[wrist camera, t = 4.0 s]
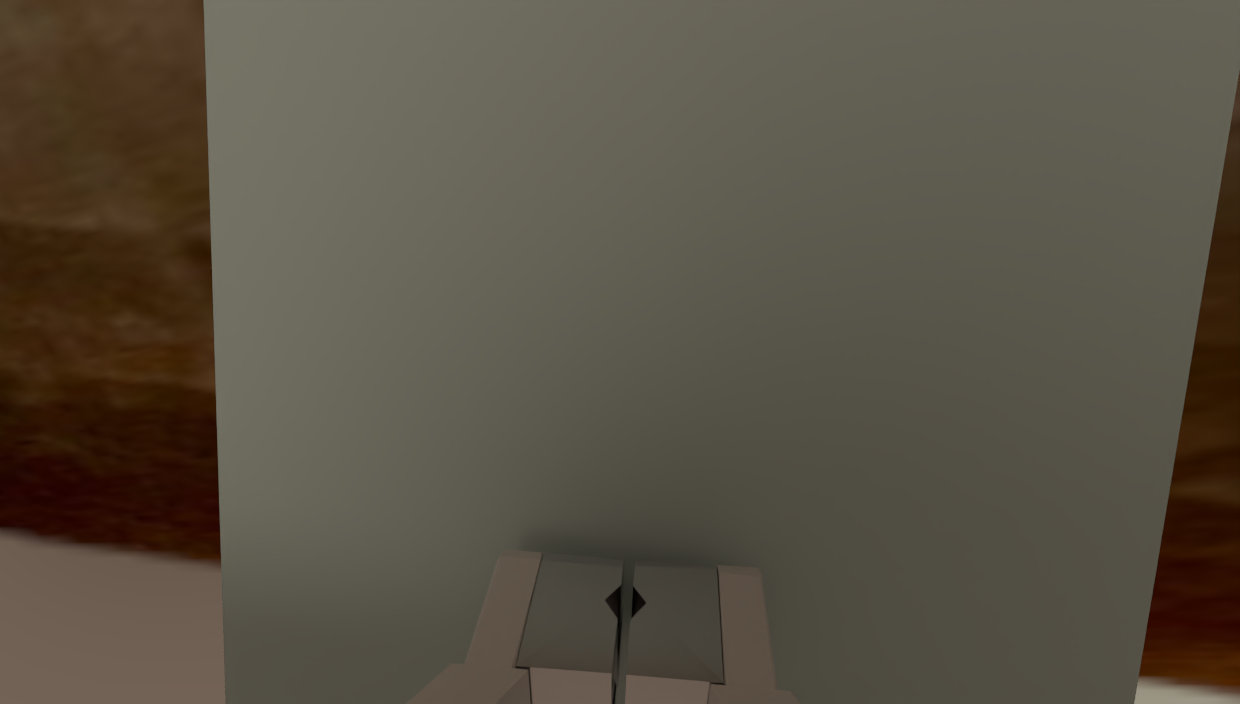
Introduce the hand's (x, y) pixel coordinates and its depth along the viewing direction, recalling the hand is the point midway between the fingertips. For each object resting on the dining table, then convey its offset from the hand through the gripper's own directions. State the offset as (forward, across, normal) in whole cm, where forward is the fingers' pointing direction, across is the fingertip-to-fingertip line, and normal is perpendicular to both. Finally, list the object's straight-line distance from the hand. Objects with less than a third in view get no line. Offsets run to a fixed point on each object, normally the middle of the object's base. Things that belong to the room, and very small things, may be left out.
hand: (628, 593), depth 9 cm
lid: (+2, 0, -1) cm, 2 cm away
